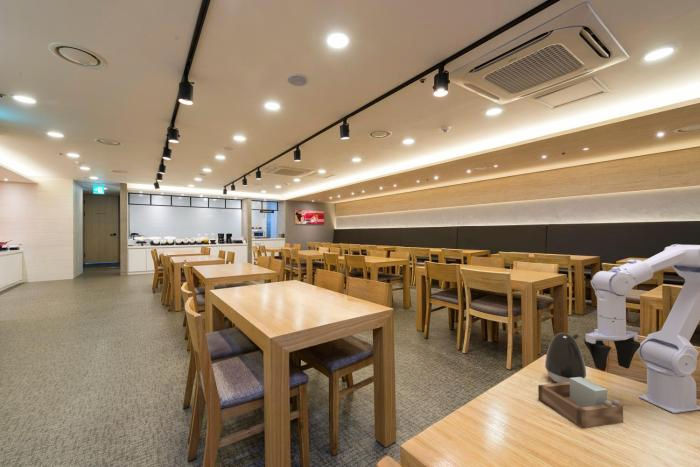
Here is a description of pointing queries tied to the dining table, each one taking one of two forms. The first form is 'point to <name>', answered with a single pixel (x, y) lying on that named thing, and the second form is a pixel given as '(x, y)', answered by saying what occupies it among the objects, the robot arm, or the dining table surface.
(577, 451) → the dining table surface
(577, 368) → the dark egg-shaped dome
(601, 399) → the grey block
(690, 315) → the robot arm
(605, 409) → the wooden rimmed tray
